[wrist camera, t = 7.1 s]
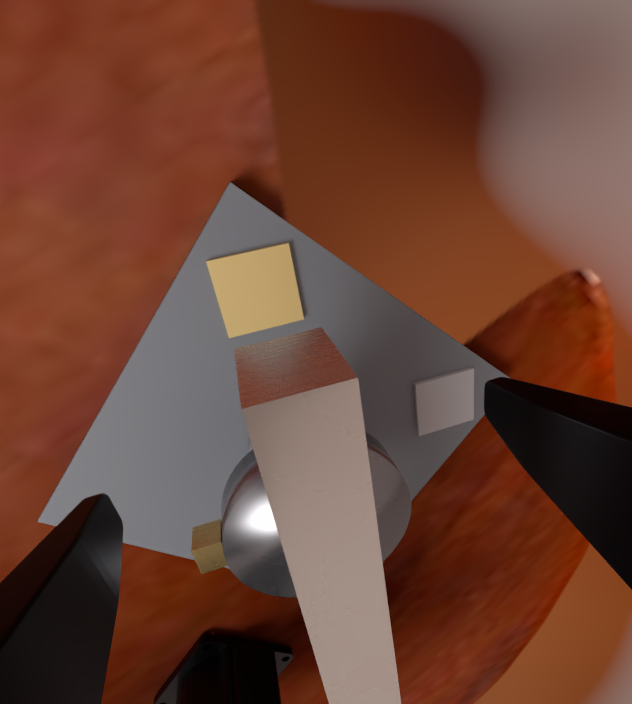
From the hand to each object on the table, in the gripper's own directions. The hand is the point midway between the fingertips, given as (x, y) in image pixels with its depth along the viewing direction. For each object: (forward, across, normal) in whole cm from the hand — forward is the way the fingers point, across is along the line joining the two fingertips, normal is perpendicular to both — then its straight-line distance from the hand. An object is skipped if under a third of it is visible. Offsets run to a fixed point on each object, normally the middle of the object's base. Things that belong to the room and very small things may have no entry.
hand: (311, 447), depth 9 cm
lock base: (+8, 0, +6) cm, 10 cm away
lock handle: (+4, +1, +6) cm, 7 cm away
